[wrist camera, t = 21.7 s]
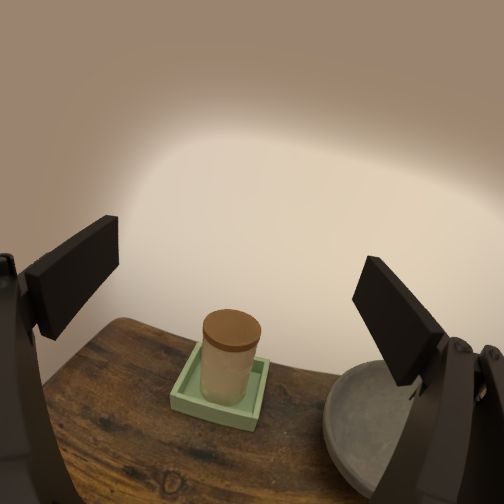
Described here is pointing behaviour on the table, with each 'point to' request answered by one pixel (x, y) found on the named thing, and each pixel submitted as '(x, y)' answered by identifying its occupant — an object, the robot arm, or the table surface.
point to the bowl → (365, 422)
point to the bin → (193, 403)
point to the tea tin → (227, 355)
